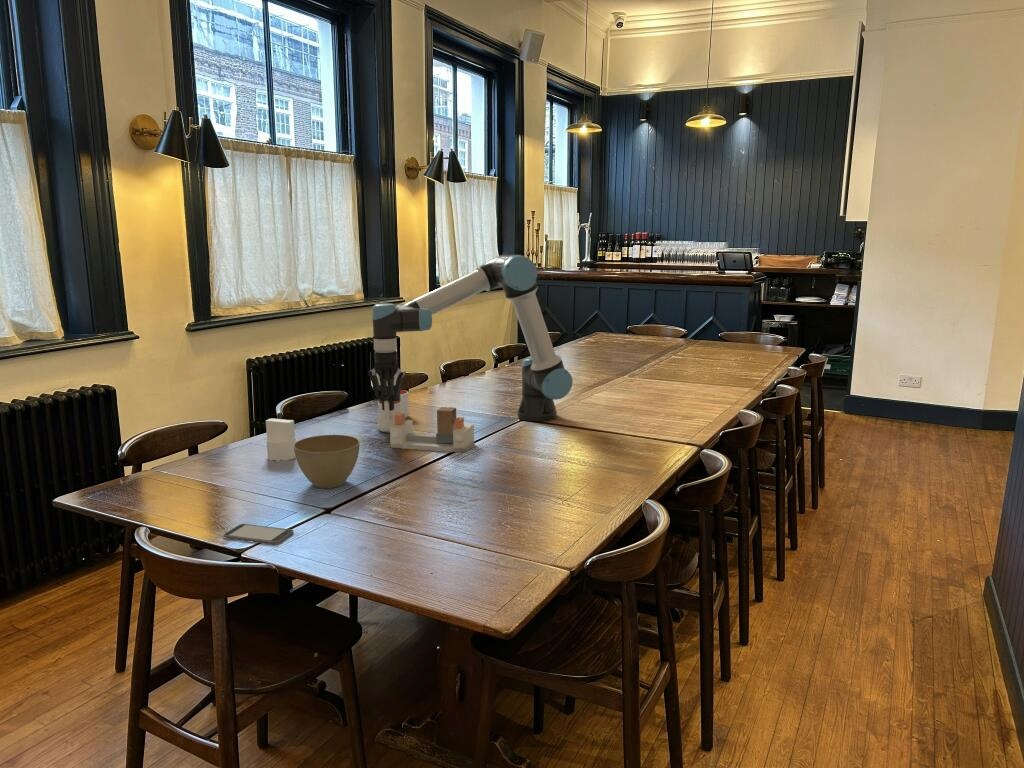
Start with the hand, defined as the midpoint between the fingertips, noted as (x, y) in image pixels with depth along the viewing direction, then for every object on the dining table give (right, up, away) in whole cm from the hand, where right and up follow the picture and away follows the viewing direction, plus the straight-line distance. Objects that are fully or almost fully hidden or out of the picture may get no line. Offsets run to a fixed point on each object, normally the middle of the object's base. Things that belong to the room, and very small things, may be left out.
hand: (388, 419), depth 248 cm
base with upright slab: (-32, -12, -13) cm, 36 cm away
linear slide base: (+15, -9, -2) cm, 18 cm away
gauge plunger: (+4, -1, -1) cm, 4 cm away
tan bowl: (-11, -17, -38) cm, 43 cm away
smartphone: (-19, -25, -73) cm, 80 cm away
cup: (-3, -1, +36) cm, 36 cm away
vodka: (-2, -5, +18) cm, 19 cm away
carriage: (+20, -7, -4) cm, 22 cm away
